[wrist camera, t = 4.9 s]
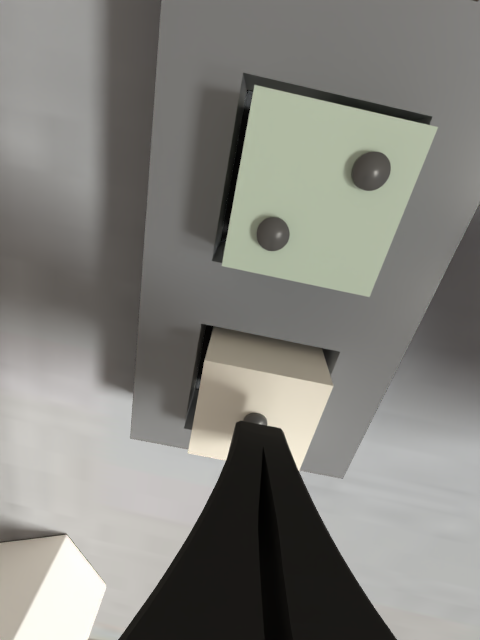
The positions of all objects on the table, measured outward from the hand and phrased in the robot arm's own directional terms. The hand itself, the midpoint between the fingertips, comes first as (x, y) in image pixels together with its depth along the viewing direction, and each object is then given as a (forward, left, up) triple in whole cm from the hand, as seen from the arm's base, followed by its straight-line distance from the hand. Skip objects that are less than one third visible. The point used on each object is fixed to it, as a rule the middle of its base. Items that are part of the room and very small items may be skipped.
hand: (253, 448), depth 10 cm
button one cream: (0, 0, -4) cm, 4 cm away
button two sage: (+6, -4, -5) cm, 9 cm away
